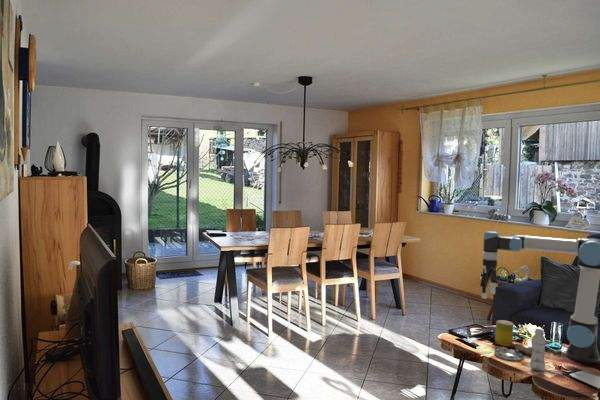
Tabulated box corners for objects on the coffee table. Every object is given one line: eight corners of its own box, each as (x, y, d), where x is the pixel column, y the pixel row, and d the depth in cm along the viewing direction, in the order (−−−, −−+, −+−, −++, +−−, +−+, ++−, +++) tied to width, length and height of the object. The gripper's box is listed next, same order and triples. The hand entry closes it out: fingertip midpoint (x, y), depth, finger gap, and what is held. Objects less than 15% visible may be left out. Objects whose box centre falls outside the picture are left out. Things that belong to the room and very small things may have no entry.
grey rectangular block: (536, 355, 251) (537, 347, 250) (534, 357, 247) (534, 349, 247) (516, 350, 257) (517, 342, 257) (514, 352, 254) (514, 344, 253)
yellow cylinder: (512, 347, 262) (513, 326, 261) (495, 344, 265) (496, 323, 265) (511, 341, 271) (512, 321, 270) (494, 339, 274) (495, 319, 273)
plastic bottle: (544, 373, 227) (546, 333, 226) (528, 370, 231) (531, 330, 230) (545, 369, 233) (547, 329, 232) (530, 366, 236) (532, 327, 235)
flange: (526, 355, 250) (526, 352, 250) (518, 363, 239) (519, 359, 239) (499, 348, 259) (499, 345, 259) (490, 355, 248) (491, 352, 248)
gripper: (490, 255, 276) (489, 291, 277) (475, 260, 257) (473, 299, 258) (504, 257, 271) (502, 293, 272) (489, 262, 252) (487, 301, 253)
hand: (488, 296), depth 265 cm, fingers open, 13 cm apart
